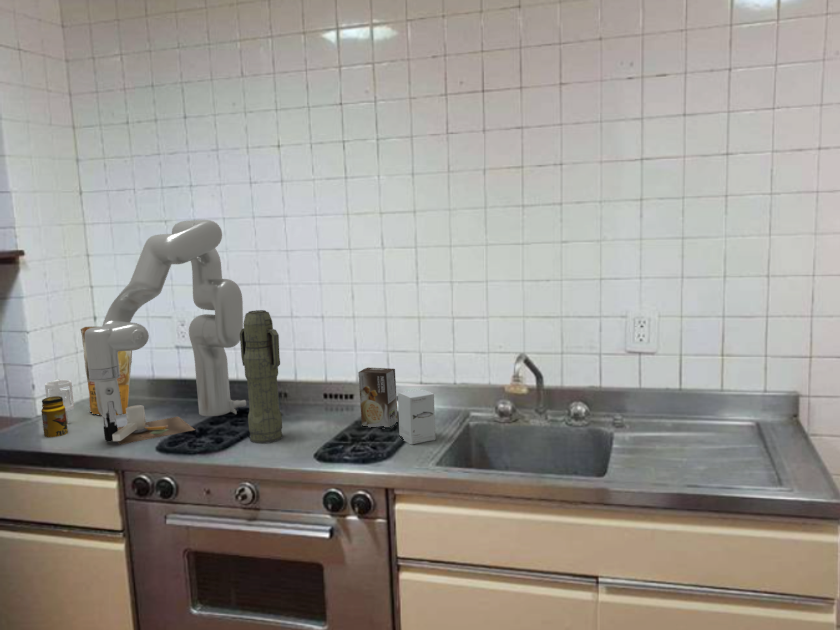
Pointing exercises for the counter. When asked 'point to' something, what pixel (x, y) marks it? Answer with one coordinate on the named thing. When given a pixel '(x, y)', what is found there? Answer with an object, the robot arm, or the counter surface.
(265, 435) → the thermos
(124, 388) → the pancake mix bag
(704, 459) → the counter surface
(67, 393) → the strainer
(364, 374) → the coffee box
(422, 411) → the supplement box
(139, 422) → the white handled piece
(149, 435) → the brown square board
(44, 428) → the condiment
